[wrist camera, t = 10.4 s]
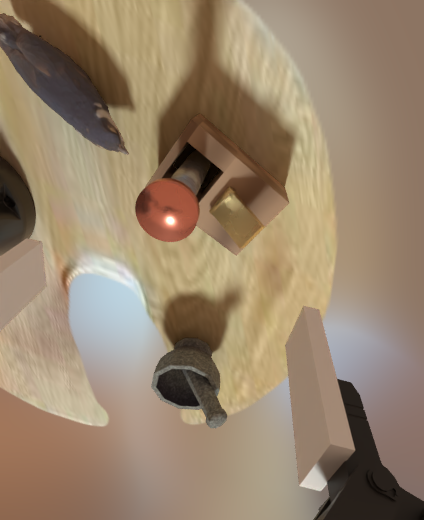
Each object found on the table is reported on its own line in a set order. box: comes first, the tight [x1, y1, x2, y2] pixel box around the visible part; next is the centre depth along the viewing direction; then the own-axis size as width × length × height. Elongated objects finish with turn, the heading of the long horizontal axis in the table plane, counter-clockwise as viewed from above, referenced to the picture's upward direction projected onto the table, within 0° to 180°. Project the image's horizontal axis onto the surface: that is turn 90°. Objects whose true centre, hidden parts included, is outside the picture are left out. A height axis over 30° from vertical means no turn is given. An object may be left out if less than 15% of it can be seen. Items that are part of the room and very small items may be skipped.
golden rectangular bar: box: [209, 186, 265, 248], centre depth 30 cm, size 5×3×1 cm
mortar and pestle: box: [151, 338, 227, 428], centre depth 44 cm, size 11×9×12 cm
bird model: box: [0, 13, 129, 154], centre depth 30 cm, size 4×17×5 cm, turn 45°
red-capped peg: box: [135, 150, 211, 242], centre depth 28 cm, size 4×4×15 cm
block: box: [145, 114, 289, 255], centre depth 33 cm, size 12×8×5 cm, turn 52°
